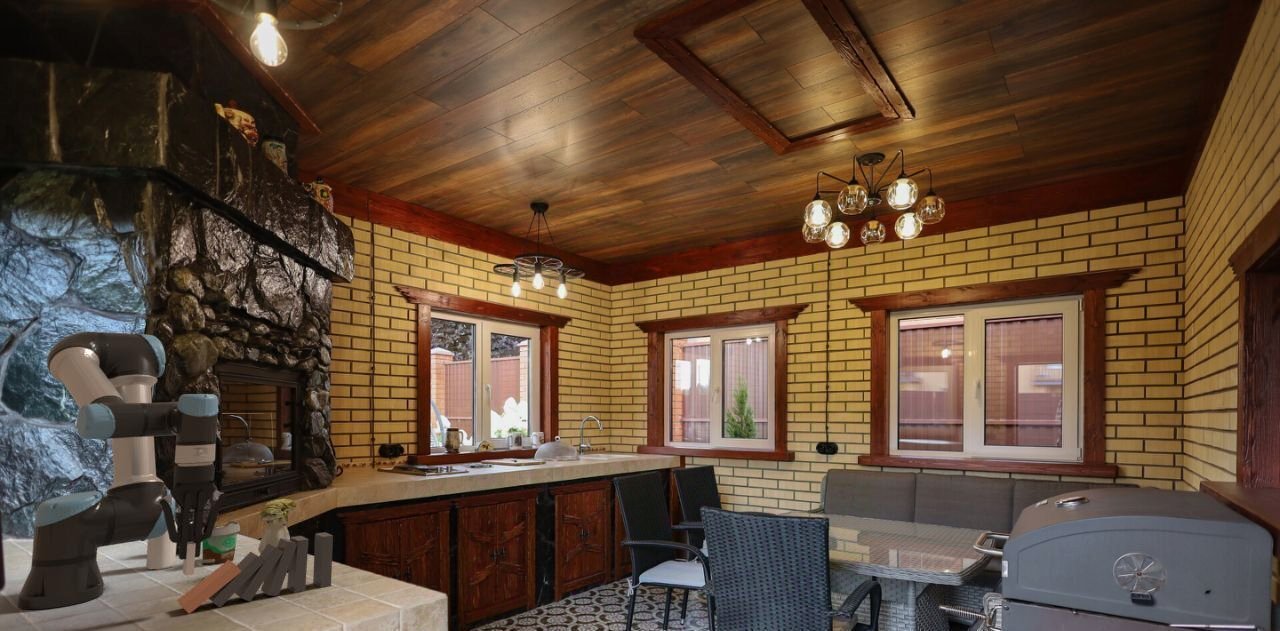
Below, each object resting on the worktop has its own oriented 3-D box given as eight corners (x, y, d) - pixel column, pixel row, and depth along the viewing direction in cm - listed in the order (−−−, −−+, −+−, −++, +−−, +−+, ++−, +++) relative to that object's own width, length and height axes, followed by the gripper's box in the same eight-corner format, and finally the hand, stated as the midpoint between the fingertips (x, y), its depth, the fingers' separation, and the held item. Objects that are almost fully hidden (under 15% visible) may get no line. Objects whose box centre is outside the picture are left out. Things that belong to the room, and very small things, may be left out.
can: (180, 564, 190) (183, 519, 191) (162, 570, 184) (165, 524, 185) (158, 563, 191) (161, 519, 192) (139, 570, 184) (142, 523, 186)
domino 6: (320, 587, 168) (322, 537, 169) (313, 583, 171) (315, 533, 173) (331, 585, 169) (333, 535, 171) (323, 581, 173) (325, 532, 174)
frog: (309, 569, 185) (312, 499, 186) (255, 578, 176) (259, 504, 178) (297, 560, 194) (300, 494, 196) (245, 568, 185) (249, 499, 187)
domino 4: (267, 595, 160) (287, 541, 163) (260, 590, 163) (280, 538, 167) (278, 596, 161) (297, 543, 165) (271, 591, 165) (290, 539, 169)
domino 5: (294, 592, 164) (297, 540, 165) (287, 588, 167) (290, 537, 169) (305, 591, 165) (308, 539, 167) (297, 586, 169) (301, 535, 170)
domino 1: (181, 606, 148) (234, 563, 155) (176, 600, 152) (228, 559, 159) (189, 614, 149) (241, 571, 156) (183, 608, 152) (235, 567, 160)
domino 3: (240, 597, 156) (274, 547, 161) (234, 592, 159) (267, 543, 165) (250, 601, 157) (283, 551, 163) (243, 596, 161) (276, 547, 166)
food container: (221, 567, 187) (223, 529, 188) (198, 567, 187) (201, 529, 188) (248, 555, 200) (249, 520, 200) (226, 555, 200) (228, 520, 201)
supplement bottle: (171, 551, 205) (173, 509, 206) (198, 549, 208) (200, 508, 209) (166, 556, 199) (169, 513, 200) (194, 554, 202) (197, 511, 203)
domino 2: (211, 601, 152) (257, 555, 159) (205, 596, 156) (250, 551, 162) (220, 607, 153) (264, 561, 160) (213, 602, 157) (258, 557, 163)
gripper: (163, 467, 147) (155, 583, 144) (232, 462, 156) (226, 571, 153) (156, 464, 152) (149, 576, 150) (223, 460, 161) (217, 565, 159)
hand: (188, 573), depth 151 cm, fingers closed
